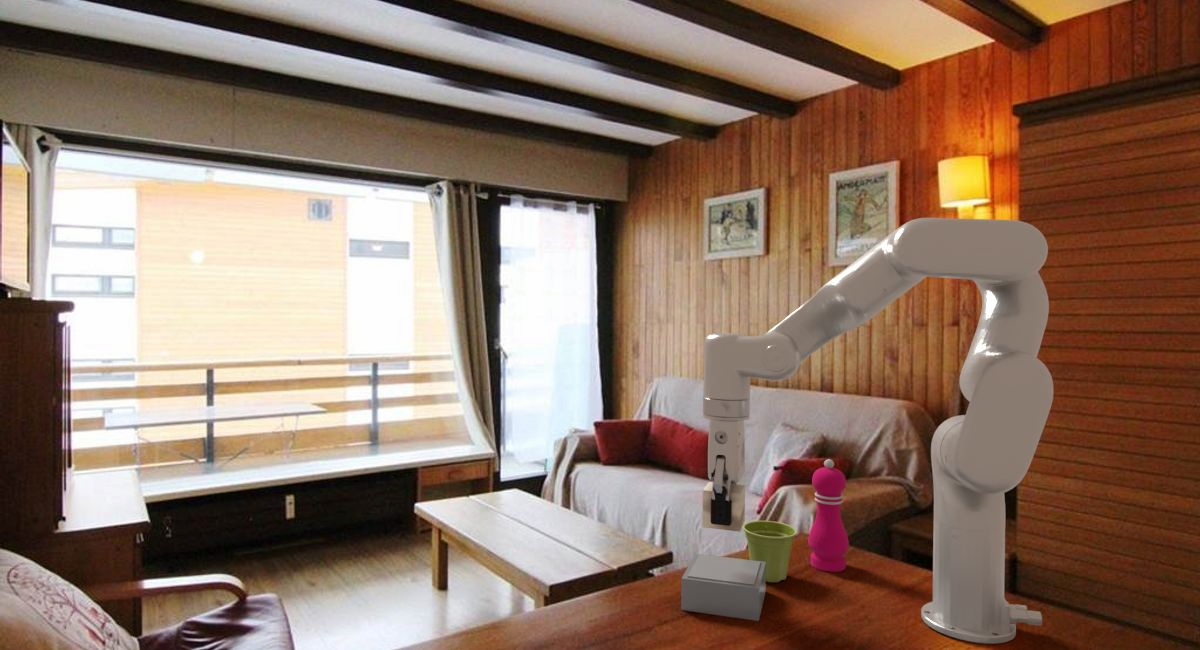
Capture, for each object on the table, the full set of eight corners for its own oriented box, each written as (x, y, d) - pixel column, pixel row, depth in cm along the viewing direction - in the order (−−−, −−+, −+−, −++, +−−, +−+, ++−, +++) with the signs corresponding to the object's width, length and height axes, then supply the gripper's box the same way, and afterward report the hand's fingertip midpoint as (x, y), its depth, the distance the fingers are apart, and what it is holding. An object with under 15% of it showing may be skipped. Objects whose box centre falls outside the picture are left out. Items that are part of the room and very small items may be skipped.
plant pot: (791, 568, 126) (791, 521, 126) (800, 588, 117) (801, 537, 117) (739, 565, 127) (740, 519, 127) (745, 585, 118) (745, 535, 118)
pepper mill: (821, 556, 133) (822, 453, 132) (856, 567, 127) (857, 460, 127) (800, 564, 128) (801, 458, 128) (834, 576, 122) (835, 465, 122)
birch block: (744, 520, 114) (745, 485, 113) (739, 531, 108) (740, 493, 108) (708, 517, 115) (709, 481, 115) (702, 527, 110) (702, 490, 110)
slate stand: (765, 591, 116) (765, 560, 115) (758, 620, 104) (758, 587, 104) (695, 581, 119) (695, 552, 119) (681, 609, 108) (681, 577, 108)
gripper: (743, 417, 102) (740, 537, 102) (755, 403, 118) (753, 507, 119) (693, 414, 104) (691, 531, 105) (711, 401, 121) (709, 502, 121)
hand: (724, 517), depth 112 cm, fingers closed on birch block, 6 cm apart
